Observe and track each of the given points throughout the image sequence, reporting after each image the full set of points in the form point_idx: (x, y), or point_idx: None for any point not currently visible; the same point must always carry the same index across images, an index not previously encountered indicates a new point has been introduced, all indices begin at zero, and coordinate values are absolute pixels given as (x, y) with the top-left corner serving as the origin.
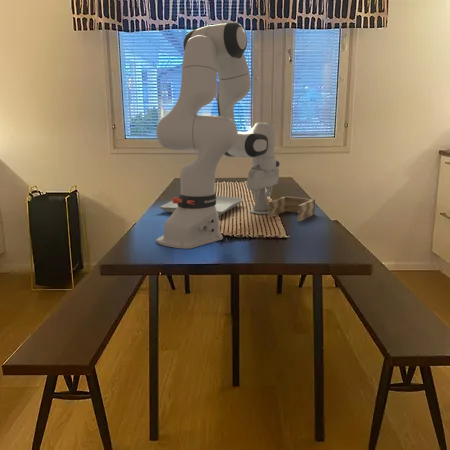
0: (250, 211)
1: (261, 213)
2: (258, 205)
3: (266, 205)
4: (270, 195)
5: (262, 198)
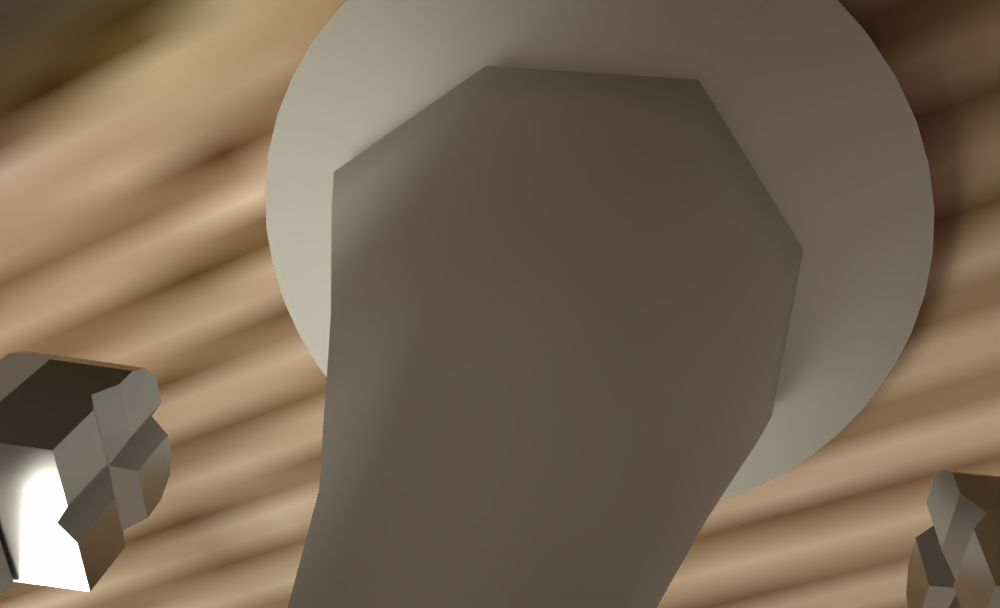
0: (749, 475)
1: (924, 157)
2: (746, 401)
3: (643, 186)
4: (52, 358)
5: (650, 450)
